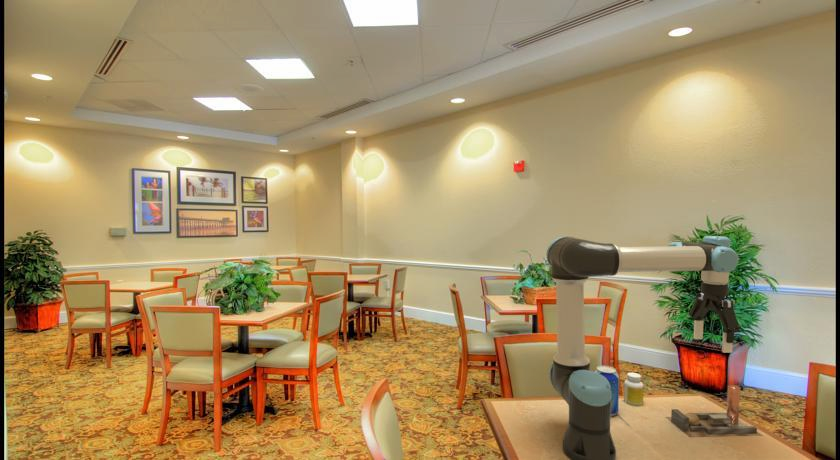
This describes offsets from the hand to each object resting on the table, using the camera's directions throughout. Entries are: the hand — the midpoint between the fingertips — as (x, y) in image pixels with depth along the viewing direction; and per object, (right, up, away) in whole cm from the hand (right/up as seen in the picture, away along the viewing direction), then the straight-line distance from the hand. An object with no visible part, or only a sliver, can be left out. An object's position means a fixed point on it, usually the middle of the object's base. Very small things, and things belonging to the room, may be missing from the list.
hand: (711, 345), depth 142 cm
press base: (0, -28, 0) cm, 28 cm away
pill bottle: (-18, -27, +17) cm, 37 cm away
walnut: (-7, -27, 0) cm, 28 cm away
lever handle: (+5, -27, 0) cm, 27 cm away
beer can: (-30, -28, +12) cm, 43 cm away
